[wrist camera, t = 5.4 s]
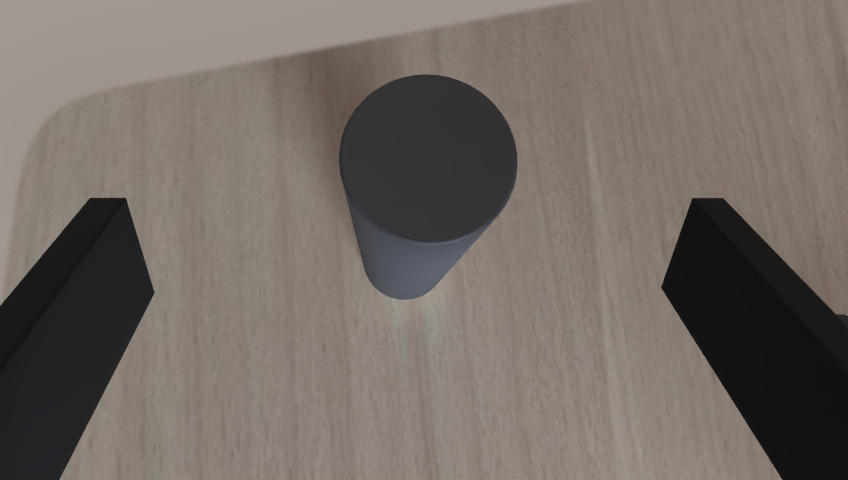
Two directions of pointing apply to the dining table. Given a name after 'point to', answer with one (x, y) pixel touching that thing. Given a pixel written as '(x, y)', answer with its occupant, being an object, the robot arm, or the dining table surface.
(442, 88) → the grey cylinder
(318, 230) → the dining table surface
